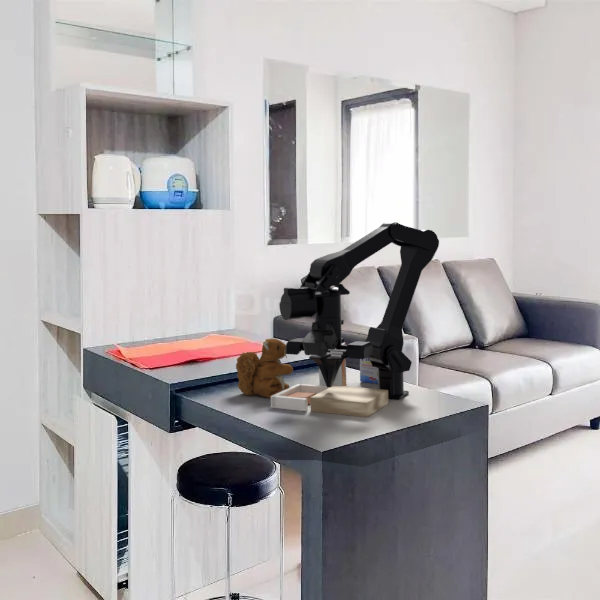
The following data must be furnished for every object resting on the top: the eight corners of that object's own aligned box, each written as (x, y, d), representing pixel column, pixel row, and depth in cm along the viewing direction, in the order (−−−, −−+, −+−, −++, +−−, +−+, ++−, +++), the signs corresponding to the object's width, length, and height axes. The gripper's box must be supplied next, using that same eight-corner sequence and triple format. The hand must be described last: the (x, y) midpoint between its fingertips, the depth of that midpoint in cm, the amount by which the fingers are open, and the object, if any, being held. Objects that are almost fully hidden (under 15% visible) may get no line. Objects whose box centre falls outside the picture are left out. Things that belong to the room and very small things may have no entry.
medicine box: (359, 382, 181) (358, 348, 180) (368, 378, 185) (367, 345, 184) (388, 385, 177) (387, 350, 176) (396, 381, 181) (395, 347, 180)
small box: (342, 391, 172) (341, 347, 171) (319, 390, 173) (317, 347, 172) (347, 383, 180) (346, 341, 179) (324, 383, 181) (323, 341, 180)
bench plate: (334, 398, 166) (334, 385, 165) (388, 403, 160) (388, 390, 159) (310, 411, 155) (310, 397, 155) (367, 417, 149) (367, 402, 149)
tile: (316, 392, 164) (316, 401, 164) (296, 392, 166) (297, 400, 167) (305, 397, 160) (306, 406, 160) (285, 396, 162) (286, 405, 162)
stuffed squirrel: (290, 399, 166) (289, 342, 165) (230, 399, 168) (228, 342, 167) (296, 389, 176) (294, 335, 175) (239, 389, 178) (237, 335, 177)
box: (298, 394, 170) (298, 383, 170) (331, 397, 167) (331, 386, 166) (271, 407, 159) (270, 396, 159) (305, 411, 155) (305, 399, 155)
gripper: (271, 319, 155) (274, 391, 156) (352, 323, 146) (354, 399, 148) (296, 313, 164) (298, 381, 166) (373, 316, 156) (374, 387, 157)
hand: (329, 387), depth 159 cm, fingers closed
